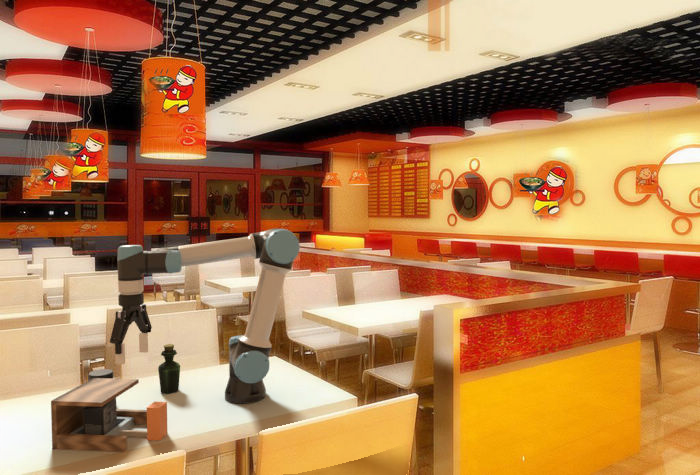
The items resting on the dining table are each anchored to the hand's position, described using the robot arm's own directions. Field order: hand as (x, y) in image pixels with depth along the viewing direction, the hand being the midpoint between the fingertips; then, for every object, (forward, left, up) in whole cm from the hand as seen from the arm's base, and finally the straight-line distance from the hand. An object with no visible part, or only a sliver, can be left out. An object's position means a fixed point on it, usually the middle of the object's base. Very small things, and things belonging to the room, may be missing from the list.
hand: (132, 357), depth 165 cm
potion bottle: (+2, -31, -22) cm, 38 cm away
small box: (+6, +9, -22) cm, 24 cm away
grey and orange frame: (-1, +9, -22) cm, 24 cm away
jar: (+20, -15, -22) cm, 33 cm away
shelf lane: (+4, +9, -22) cm, 24 cm away
